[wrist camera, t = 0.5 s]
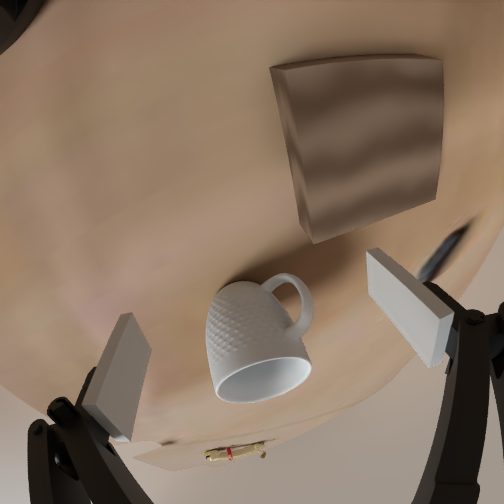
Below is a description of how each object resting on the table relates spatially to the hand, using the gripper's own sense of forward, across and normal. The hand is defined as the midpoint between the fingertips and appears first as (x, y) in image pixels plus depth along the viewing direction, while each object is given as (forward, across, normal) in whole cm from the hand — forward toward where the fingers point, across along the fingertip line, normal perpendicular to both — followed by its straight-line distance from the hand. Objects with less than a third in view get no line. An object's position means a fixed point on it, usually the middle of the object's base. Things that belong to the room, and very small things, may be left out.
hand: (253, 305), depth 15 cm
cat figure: (+48, -27, -99) cm, 113 cm away
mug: (+21, -2, -11) cm, 24 cm away
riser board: (+16, +16, +6) cm, 23 cm away
